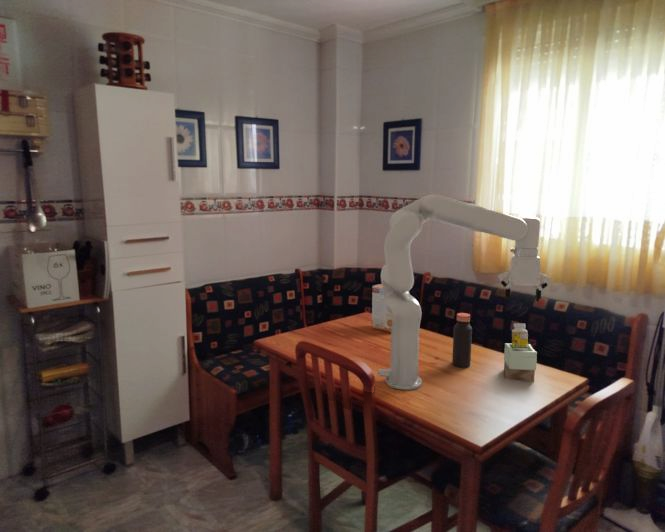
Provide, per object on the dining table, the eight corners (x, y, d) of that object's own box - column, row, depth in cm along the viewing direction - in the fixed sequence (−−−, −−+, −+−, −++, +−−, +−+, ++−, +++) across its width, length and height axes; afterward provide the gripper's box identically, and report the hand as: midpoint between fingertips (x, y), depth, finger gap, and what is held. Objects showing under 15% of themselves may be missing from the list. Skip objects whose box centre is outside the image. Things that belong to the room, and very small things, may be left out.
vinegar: (470, 368, 185) (473, 317, 181) (452, 367, 186) (454, 316, 182) (469, 361, 191) (472, 312, 187) (451, 360, 192) (454, 311, 189)
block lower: (507, 380, 175) (507, 368, 174) (503, 370, 183) (504, 359, 182) (533, 382, 173) (534, 370, 172) (529, 372, 181) (530, 360, 181)
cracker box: (402, 331, 229) (403, 287, 225) (395, 334, 224) (396, 290, 220) (379, 325, 238) (379, 283, 234) (371, 327, 234) (371, 285, 230)
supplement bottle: (530, 350, 174) (530, 323, 176) (516, 350, 173) (516, 322, 175) (522, 350, 179) (522, 324, 181) (509, 349, 179) (508, 323, 180)
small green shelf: (509, 369, 173) (510, 351, 172) (503, 359, 182) (505, 342, 181) (536, 370, 172) (537, 352, 171) (529, 360, 181) (530, 343, 180)
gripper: (500, 253, 168) (497, 301, 172) (554, 255, 164) (550, 304, 168) (498, 249, 176) (495, 296, 179) (550, 251, 172) (546, 299, 175)
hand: (522, 300), depth 173 cm, fingers open, 9 cm apart
